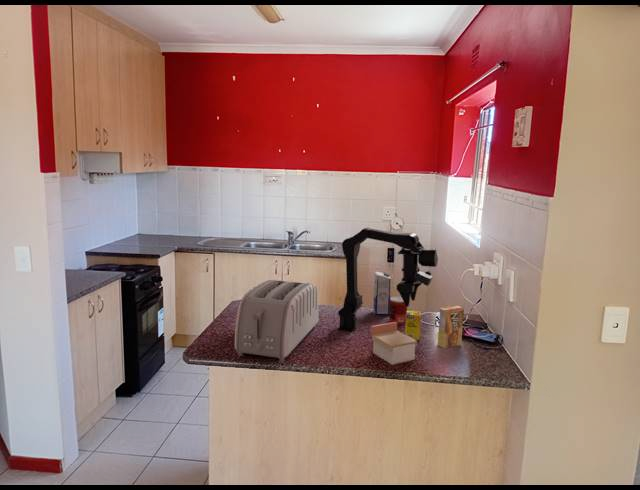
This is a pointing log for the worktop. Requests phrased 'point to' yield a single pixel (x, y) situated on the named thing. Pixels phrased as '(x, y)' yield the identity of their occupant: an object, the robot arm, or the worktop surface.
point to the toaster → (275, 318)
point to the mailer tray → (395, 353)
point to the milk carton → (382, 294)
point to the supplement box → (413, 324)
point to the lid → (389, 336)
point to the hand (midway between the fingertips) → (410, 303)
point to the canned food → (397, 310)
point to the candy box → (450, 326)
